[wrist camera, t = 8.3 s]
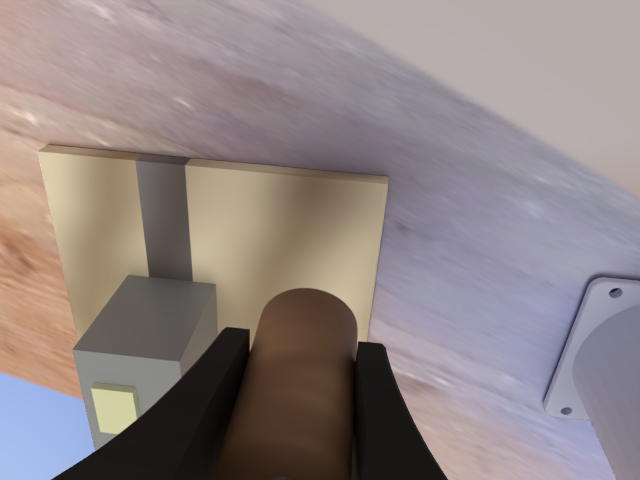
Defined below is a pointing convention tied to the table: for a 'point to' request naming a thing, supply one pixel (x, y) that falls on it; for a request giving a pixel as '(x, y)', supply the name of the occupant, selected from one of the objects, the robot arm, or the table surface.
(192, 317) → the block
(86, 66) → the table surface
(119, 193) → the plywood panel
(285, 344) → the awl
